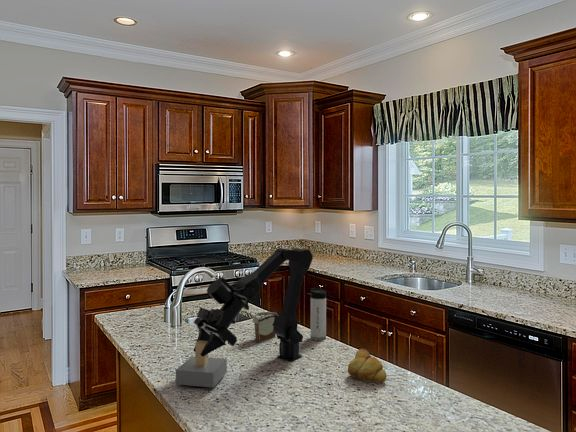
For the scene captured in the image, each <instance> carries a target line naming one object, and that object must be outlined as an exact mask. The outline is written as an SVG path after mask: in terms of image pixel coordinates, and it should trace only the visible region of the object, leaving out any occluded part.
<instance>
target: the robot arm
mask: <svg viewBox="0 0 576 432" xmlns="http://www.w3.org/2000/svg"><path fill="white" fill-rule="evenodd" d="M313 257H314V255H313V253H312V251H310V250H309V249H306V248H300V247H294V248H293V249H288V248H284V247H283V248H282V247H278V248H276V249H275V251H274V252H273V253H272V254H271V255H270V256H269V257H268V258H266V260H265V261H264V262H263V263H261V264H260V266H257V268H256V269H254V271H253V272H250V273H249V274H246V275H244V276H243V277H241V278H240V279H238V280H237V281H235V283H231V284H230V283H229V282H228V281H227V280H226V279H225V278H224V277H222V276H221V277H220V276H219V278H218V279H216V280H215V281H213V282H212V283H210V284H209V285H208V286H207V288H206V292H207V294H208V295H209V296H210V297H211V298H212V299H213V300H215V301H214V302H216V303H217V304H218V305H222V306H221V307H220V309H219V308H216V309H215V308H211V309H207V308H204V307H201V306H200V307H199V309H198V312H197V315H196V319H195V320H194V321H193V324H194V325H196V326H197V329H198V336H197V339H196V342H198V341H199V340H200V341H208V342H207V344H206V345H205V347H204V349H203V350H202V352H201V354H200V355H201V356H205V355H207V354H208V355H209V354H210V353H212V352H214V351H215V350H217V349H220V348H222V347H223V346H226V345H227V344H228V345H230V346H232V347H234V346H235V345H236V343H237V342H238V338H237V336H236V335H235V334H234V333H233V332H231V330H229V327H230V326H231V324H232V325H235V323H236V321H235V319H236V318H237V316H238V315H239V314H240V312H241V311H242V310H246V311H249V310H250V305H249V301H248V300H243V299H249V300H252V299H254V298H256V296H257V295H258V294H259V293H260V291H261V289H262V286H263V283H264V282H265V281H266V280H267V279H268V278H270V277H271V275H273V274H274V272H276V270H278V269H279V268H280V267H281V266H282V265H283V264H284V263H285V262H286V261H288V267H289V270H290V274H289V277H288V283H287V287H286V291H285V297H284V301H283V304H282V309H281V312H280V313H279V314H277V315H275V317H274V323H273V325H272V326H274V327H273V331H274V332H275V334H276V338H277V339H279V344H278V346H279V350H278V351H279V352H278V353H279V355H277V356H276V357H277V358H278V359H281V360H285V361H288V362H293V361H296V360H297V359H299V358H302V354H300V343H302V342H303V338H304V335H303V334H302V333H301V332H300V331H299V330H298V325H299V323H298V318H297V309H298V304H299V299H300V294H301V290H302V285H303V281H304V277H305V274H306V272H307V271H309V269H310V267H311V264H312V261H313ZM236 295H237V296H236ZM193 352H194V353H195V346H194V347H193Z"/></svg>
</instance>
